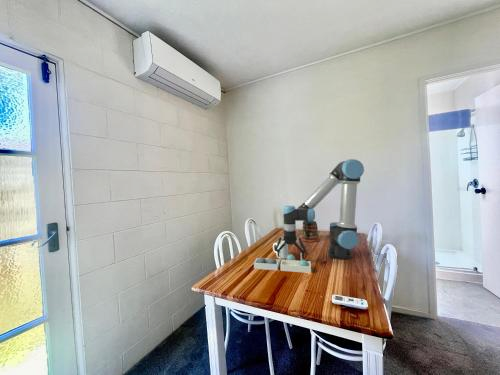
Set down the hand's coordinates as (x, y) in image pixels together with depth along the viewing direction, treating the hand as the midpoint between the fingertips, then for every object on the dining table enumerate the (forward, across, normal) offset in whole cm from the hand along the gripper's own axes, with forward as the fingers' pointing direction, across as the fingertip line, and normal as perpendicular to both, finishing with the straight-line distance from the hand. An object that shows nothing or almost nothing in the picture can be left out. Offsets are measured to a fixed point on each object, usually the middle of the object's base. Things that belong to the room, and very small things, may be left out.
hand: (290, 262), depth 132 cm
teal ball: (0, 0, 0) cm, 0 cm away
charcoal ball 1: (0, +17, +10) cm, 20 cm away
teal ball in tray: (-1, -8, +10) cm, 13 cm away
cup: (0, +8, -10) cm, 13 cm away
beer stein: (0, -13, -51) cm, 53 cm away
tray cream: (0, -4, +10) cm, 11 cm away
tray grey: (0, +14, +10) cm, 17 cm away
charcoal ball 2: (0, +11, +10) cm, 15 cm away
